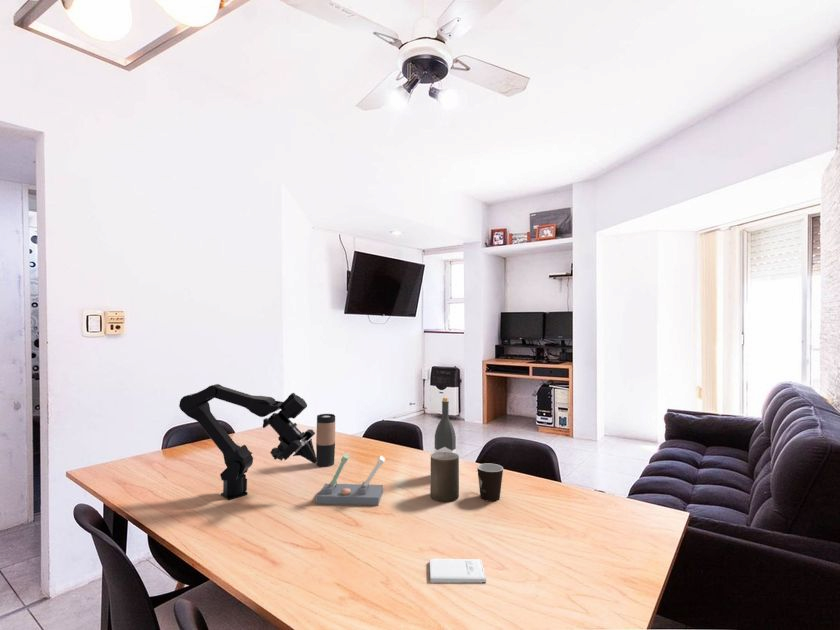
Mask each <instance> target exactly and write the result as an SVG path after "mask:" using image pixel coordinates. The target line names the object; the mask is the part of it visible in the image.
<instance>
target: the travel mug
mask: <svg viewBox="0 0 840 630" xmlns="http://www.w3.org/2000/svg"><path fill="white" fill-rule="evenodd" d="M315 437H316V438H315V439H316V443H315V444H316V445H315V447H316V448H315V450H316V451H315V455H316V458H317V462H316V466H317V467H320V468H321V467H322V468H326V467H332V466H333V465H334V464H335V456H336V455H335V453H336V451H335V450H336V415H335V414H334V413H320V414H317V415H316V436H315Z"/></svg>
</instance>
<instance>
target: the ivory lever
mask: <svg viewBox="0 0 840 630" xmlns="http://www.w3.org/2000/svg"><path fill="white" fill-rule="evenodd" d="M385 461H386V458H385V457H384V456H382V455H380V456H379V458H378V459H377V462H376V464H375V466H374V468H373V469H372V470H371V472H370V473H369V475H368V476H367V478H366V479H365V481H363V482H362V483H361V484H362V486H361V488H366V489H367V487H368V484H369V485H370V483H371V481H372V480H373V477H375V476H376V473H377V471H378V470H379V468H380V467H381V466H383V464H384V462H385Z"/></svg>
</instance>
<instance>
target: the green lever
mask: <svg viewBox="0 0 840 630" xmlns="http://www.w3.org/2000/svg"><path fill="white" fill-rule="evenodd" d="M350 456H351V455H349V454H347V453H346V452H345V453H344V454H343V455H342V458H341V459H340V463H339V466H338V467H337V469H336V472H335V474H334V475H333V477H332V480H330V483H328V484H329V485H328V487H327V488H333V489H334V487H335V486H336V481H337V482H338V479H339V477H340V474H341V472H342V470H343V469H344V466H345V464H346V463H347V462H348V460H349V458H350Z"/></svg>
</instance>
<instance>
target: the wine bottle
mask: <svg viewBox="0 0 840 630" xmlns="http://www.w3.org/2000/svg"><path fill="white" fill-rule="evenodd" d="M449 402H450V401H449V398H448V397H446V396H445V397H442V401H441V405H442V406H441V419H440V421H439V423H438V424H437V427H436V428H435V433H434V453H437V452H452V453H455V454H457V450H456V449H457V446H456V444H457V443H456V442H457V441H456V439H457V436H456V432H455V428H454V426H453V424H452V422H451V420H450V417H449V411H450V410H449V404H450V403H449Z"/></svg>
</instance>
